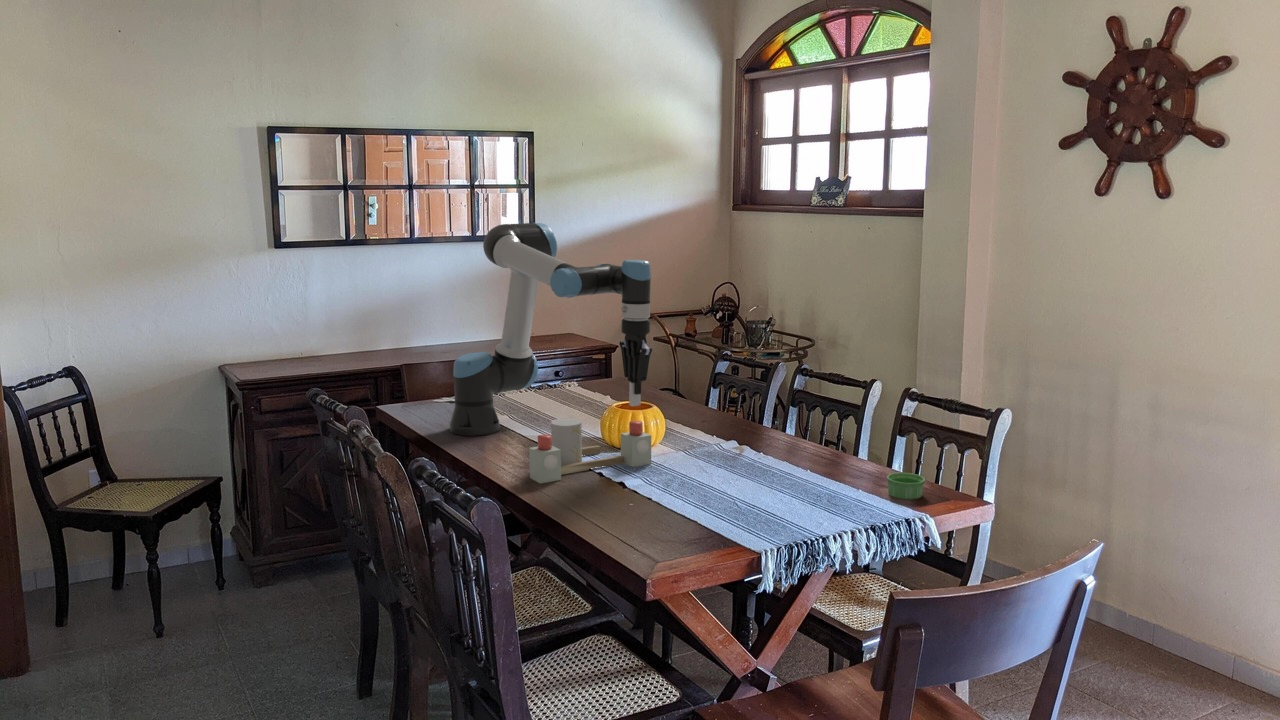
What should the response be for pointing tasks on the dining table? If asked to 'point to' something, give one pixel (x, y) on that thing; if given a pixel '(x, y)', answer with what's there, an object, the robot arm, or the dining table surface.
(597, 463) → the channel
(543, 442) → the block
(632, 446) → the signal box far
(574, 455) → the grey upright cylinder
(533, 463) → the block
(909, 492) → the ramekin
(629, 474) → the dining table surface
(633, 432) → the block
